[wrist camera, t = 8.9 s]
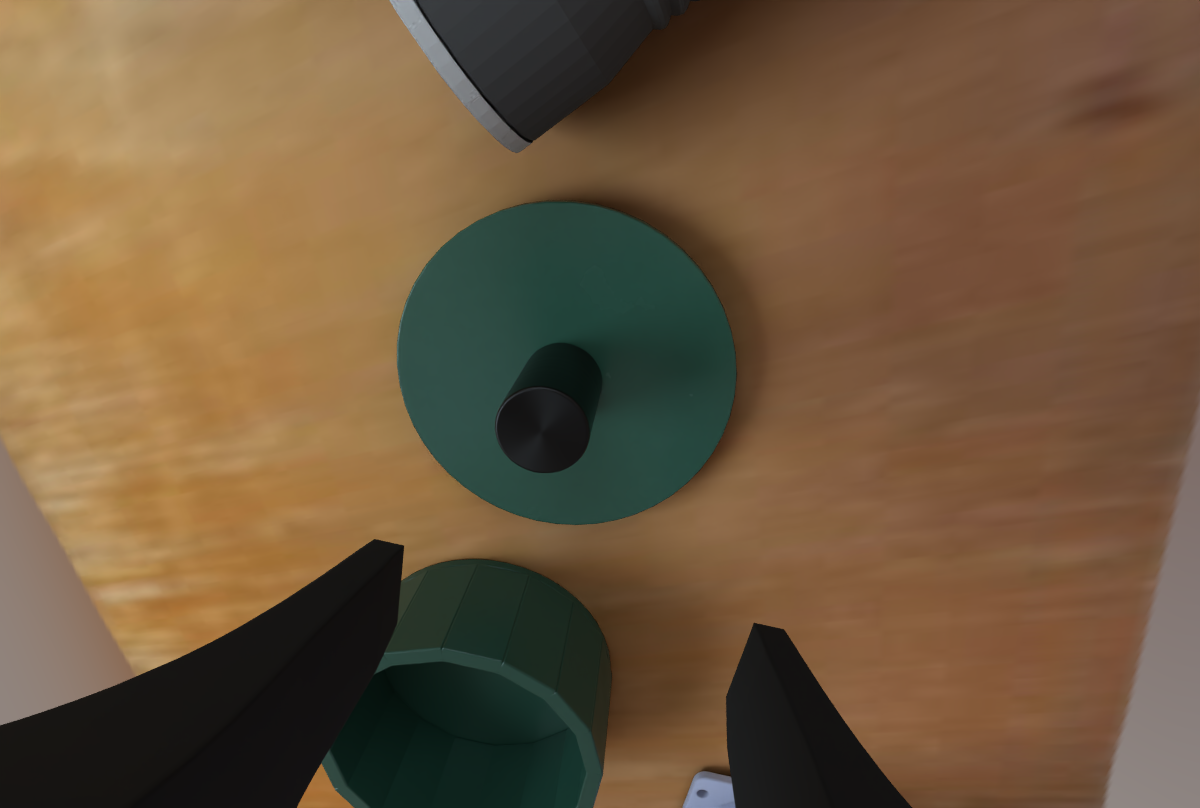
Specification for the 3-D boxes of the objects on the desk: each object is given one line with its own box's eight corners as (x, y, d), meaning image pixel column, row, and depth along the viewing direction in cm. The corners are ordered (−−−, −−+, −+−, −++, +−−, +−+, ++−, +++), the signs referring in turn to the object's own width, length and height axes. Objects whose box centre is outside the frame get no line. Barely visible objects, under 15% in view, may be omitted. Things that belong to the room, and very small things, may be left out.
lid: (686, 536, 24) (692, 634, 19) (397, 473, 24) (333, 554, 19) (777, 240, 19) (813, 271, 15) (422, 163, 19) (345, 170, 15)
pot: (585, 766, 29) (571, 881, 24) (366, 717, 29) (312, 822, 25) (634, 590, 25) (628, 689, 20) (378, 534, 25) (316, 620, 20)
